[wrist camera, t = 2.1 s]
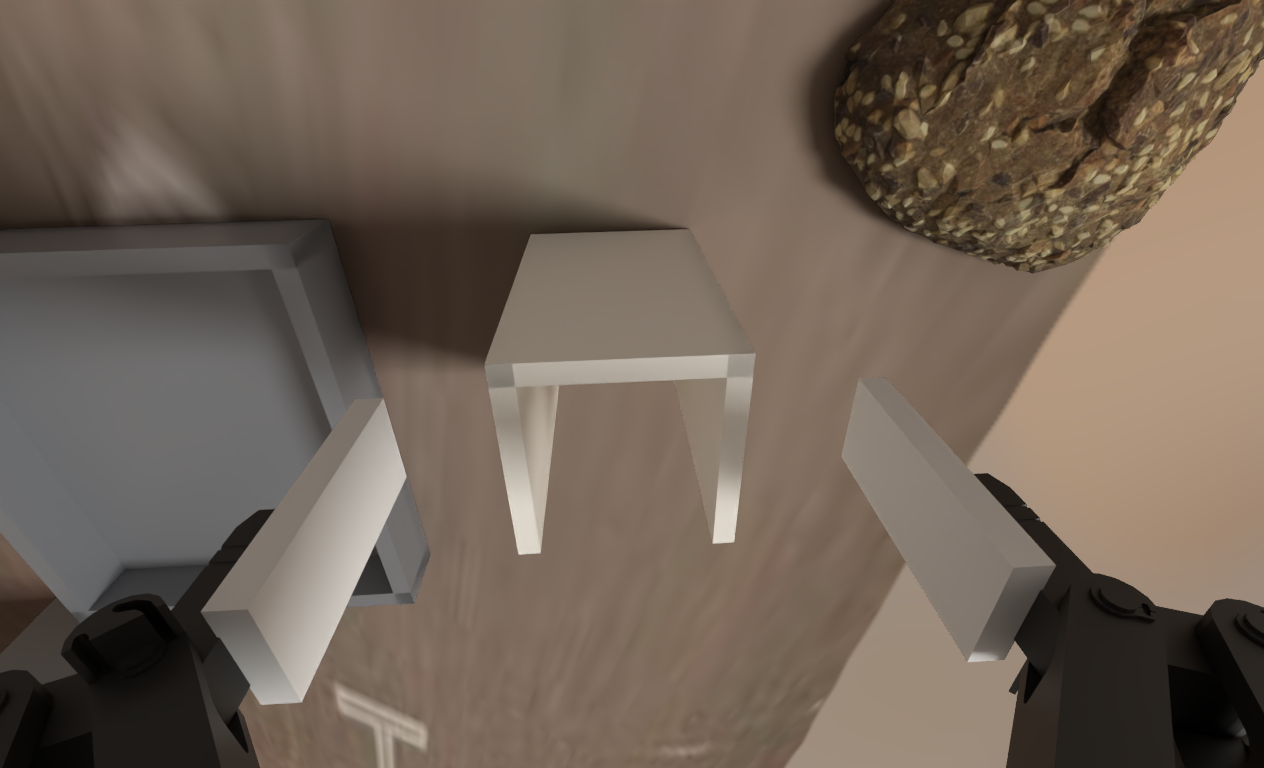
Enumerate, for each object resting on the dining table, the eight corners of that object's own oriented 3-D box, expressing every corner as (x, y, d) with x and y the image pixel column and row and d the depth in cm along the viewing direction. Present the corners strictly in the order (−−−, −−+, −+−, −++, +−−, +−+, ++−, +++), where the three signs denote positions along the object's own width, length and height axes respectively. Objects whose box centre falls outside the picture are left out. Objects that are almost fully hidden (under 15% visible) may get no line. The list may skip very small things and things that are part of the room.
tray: (-126, 233, 19) (-237, 261, 17) (328, 219, 20) (288, 244, 17) (126, 571, 28) (79, 623, 26) (430, 554, 29) (414, 603, 26)
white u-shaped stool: (530, 234, 20) (483, 364, 12) (689, 229, 21) (755, 353, 12) (546, 372, 24) (518, 554, 15) (684, 366, 24) (734, 542, 15)
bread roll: (1010, 297, 23) (1102, 352, 19) (781, 149, 20) (832, 175, 15) (1317, -28, 18) (1543, -53, 14) (1076, -318, 14) (1284, -478, 10)
